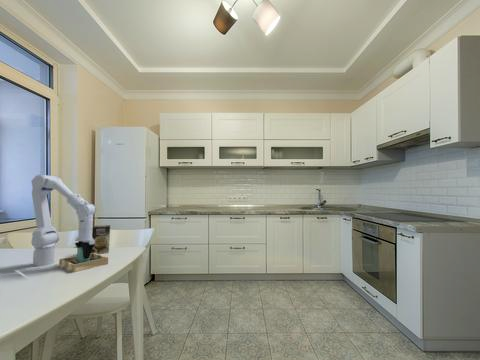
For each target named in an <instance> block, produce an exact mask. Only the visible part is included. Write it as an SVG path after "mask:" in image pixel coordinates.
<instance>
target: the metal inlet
mask: <svg viewBox="0 0 480 360" xmlns="http://www.w3.org/2000/svg"><path fill="white" fill-rule="evenodd" d="M92 260H97V259H95V258H93V257H90V260H89V261H92ZM85 262H88V261H85ZM70 263H73V264H79V263H83V262H78V261H77V259H75V260H70Z"/></svg>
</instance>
